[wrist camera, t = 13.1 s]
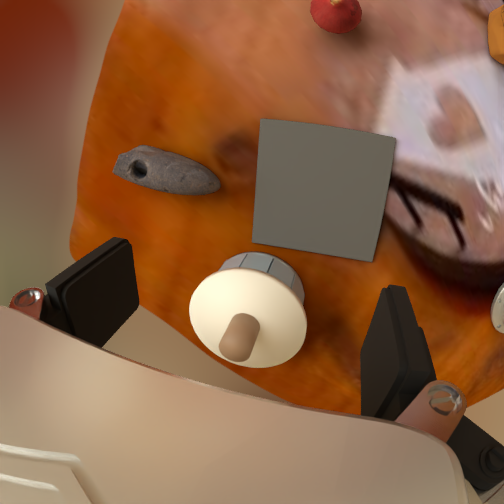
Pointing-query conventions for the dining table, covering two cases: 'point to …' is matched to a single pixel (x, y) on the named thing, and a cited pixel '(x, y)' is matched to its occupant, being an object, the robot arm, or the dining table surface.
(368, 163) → the mat
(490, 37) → the coffee package
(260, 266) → the bowl
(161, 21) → the dining table surface
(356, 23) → the onion
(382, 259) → the dining table surface
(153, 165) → the perforated stone tool
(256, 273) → the lid
